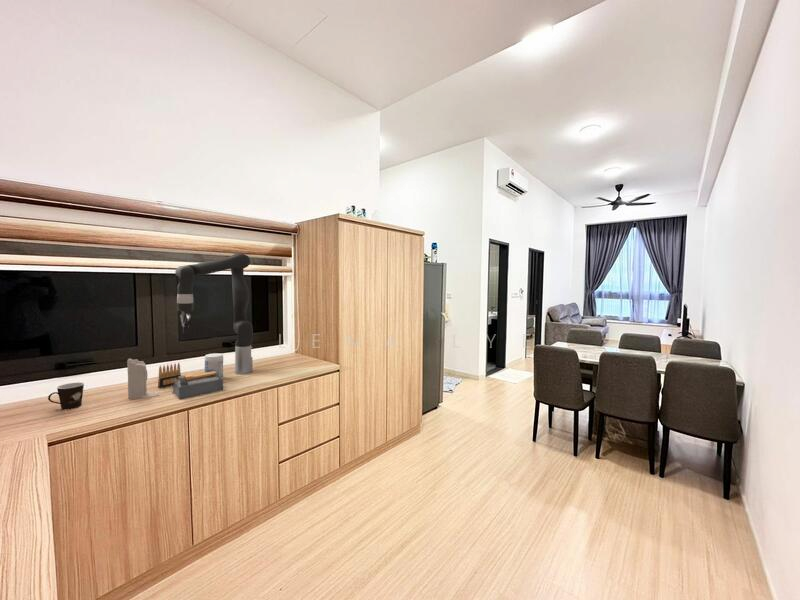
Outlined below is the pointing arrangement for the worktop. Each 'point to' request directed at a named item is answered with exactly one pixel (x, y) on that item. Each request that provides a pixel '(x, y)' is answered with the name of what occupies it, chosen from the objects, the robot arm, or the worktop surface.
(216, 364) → the supplement tub
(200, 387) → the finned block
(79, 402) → the coffee mug
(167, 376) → the ammunition clip
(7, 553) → the worktop surface
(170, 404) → the worktop surface
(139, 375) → the grey upright block
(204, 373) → the retention lever
